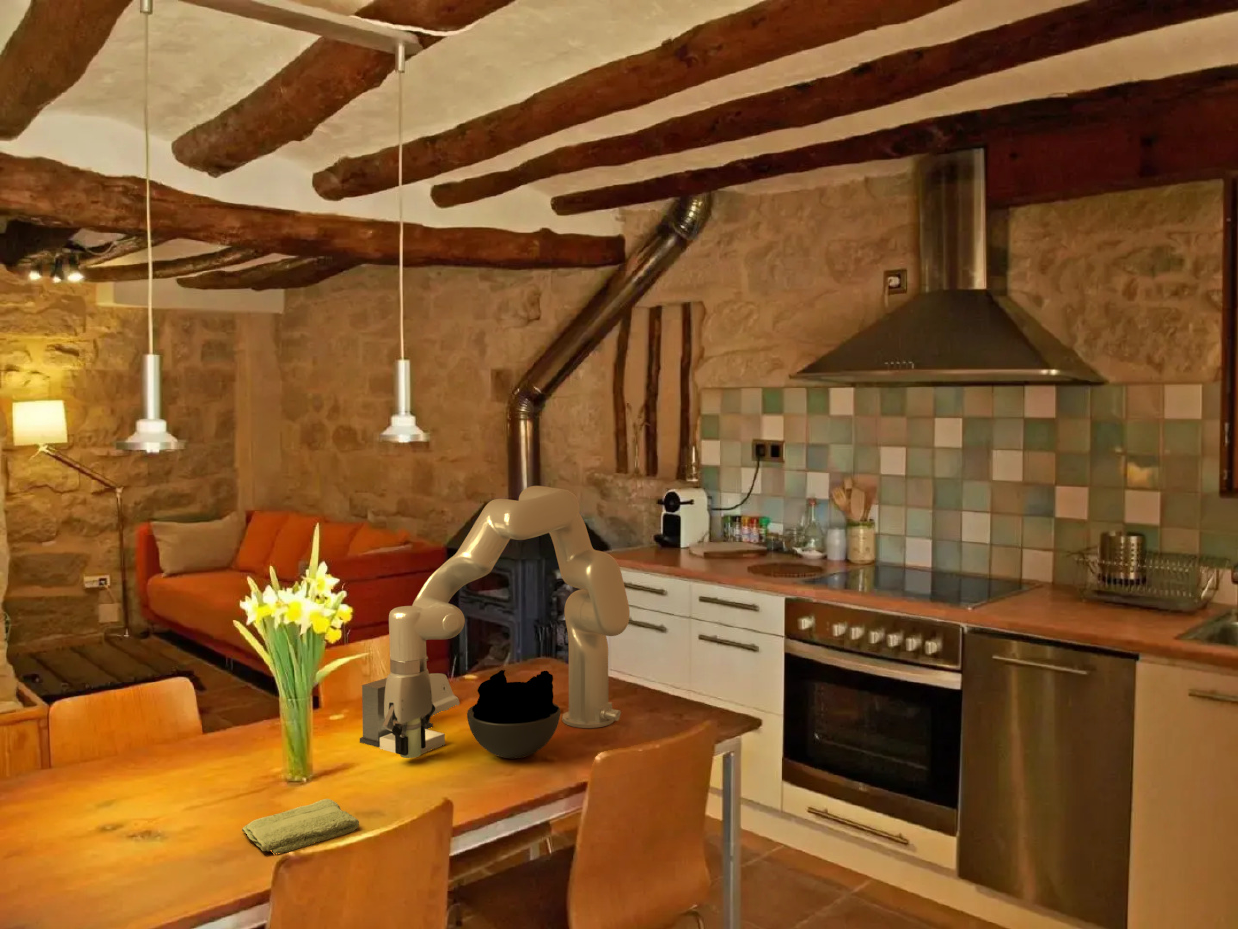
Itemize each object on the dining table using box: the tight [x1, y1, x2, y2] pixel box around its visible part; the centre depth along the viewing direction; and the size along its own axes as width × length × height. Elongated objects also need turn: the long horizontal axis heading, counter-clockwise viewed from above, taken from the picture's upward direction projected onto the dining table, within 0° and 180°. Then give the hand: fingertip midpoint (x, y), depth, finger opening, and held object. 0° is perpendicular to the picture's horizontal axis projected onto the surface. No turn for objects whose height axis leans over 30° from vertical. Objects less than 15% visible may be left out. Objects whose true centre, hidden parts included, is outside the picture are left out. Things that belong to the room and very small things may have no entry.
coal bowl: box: [466, 669, 561, 759], centre depth 221 cm, size 20×20×19 cm
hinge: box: [429, 672, 460, 717], centre depth 255 cm, size 17×5×10 cm, turn 152°
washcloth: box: [241, 798, 360, 855], centre depth 182 cm, size 13×18×3 cm
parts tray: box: [379, 729, 446, 755], centre depth 228 cm, size 10×10×2 cm
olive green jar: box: [399, 717, 422, 759], centre depth 217 cm, size 5×5×8 cm
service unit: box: [359, 677, 434, 748], centre depth 236 cm, size 6×17×13 cm, turn 146°
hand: (410, 749), depth 217 cm, fingers closed on olive green jar, 4 cm apart
